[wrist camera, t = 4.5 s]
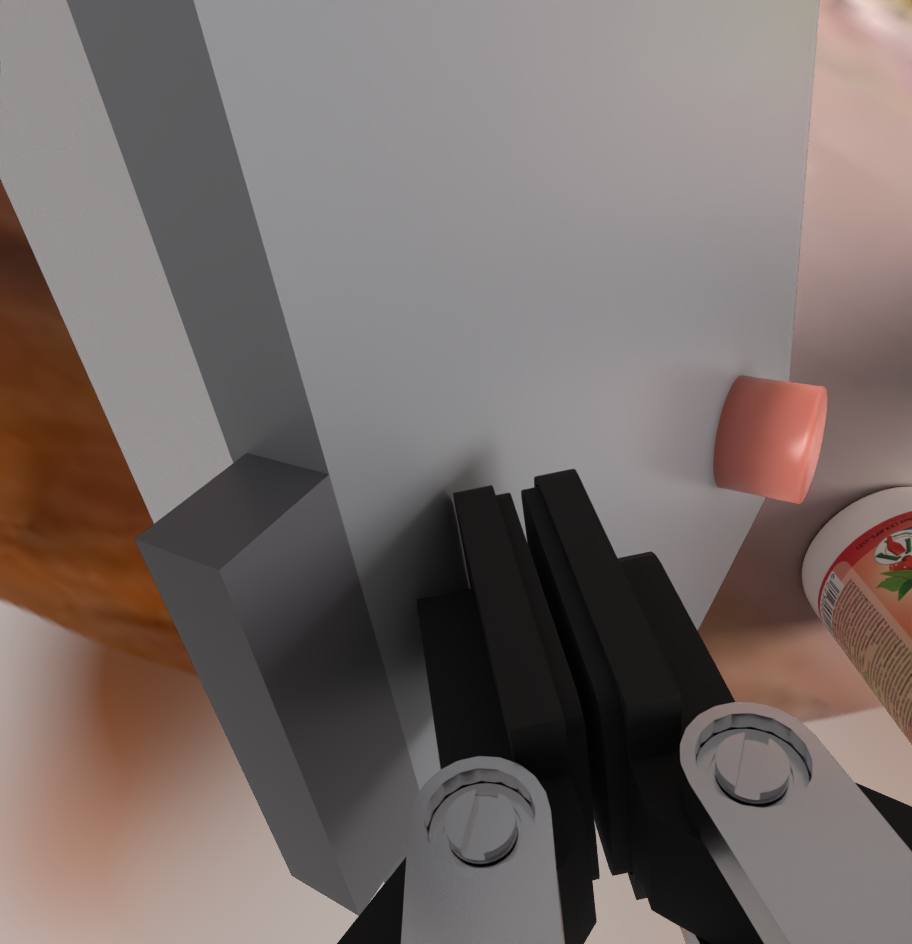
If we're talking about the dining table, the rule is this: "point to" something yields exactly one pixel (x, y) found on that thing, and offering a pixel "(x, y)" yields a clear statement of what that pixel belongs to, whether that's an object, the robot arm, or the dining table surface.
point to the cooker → (101, 255)
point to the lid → (451, 332)
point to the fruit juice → (869, 593)
